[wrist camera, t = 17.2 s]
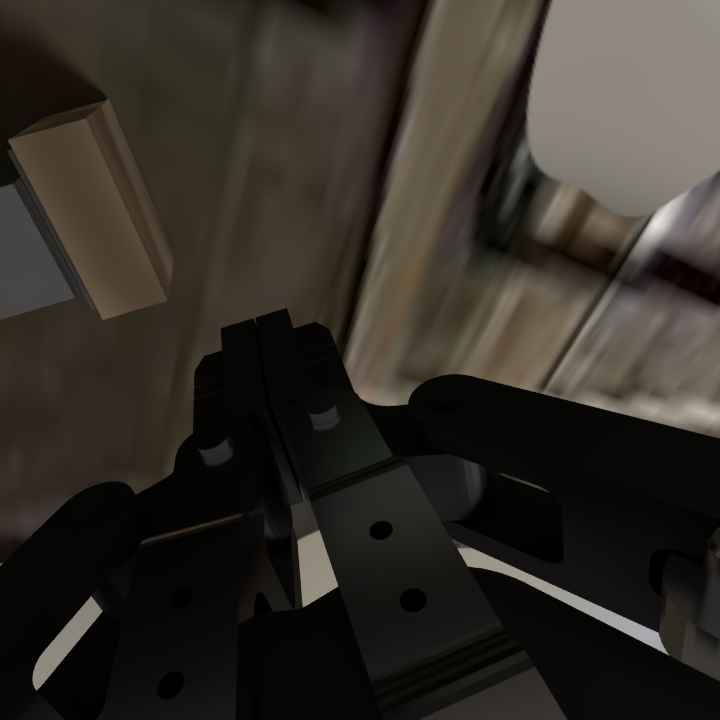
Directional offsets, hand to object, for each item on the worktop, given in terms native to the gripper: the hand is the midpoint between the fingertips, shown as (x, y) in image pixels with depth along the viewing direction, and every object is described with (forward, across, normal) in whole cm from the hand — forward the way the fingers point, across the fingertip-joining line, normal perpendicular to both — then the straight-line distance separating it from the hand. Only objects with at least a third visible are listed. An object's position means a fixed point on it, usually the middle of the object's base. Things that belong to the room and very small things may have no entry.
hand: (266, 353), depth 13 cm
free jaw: (+20, +6, 0) cm, 21 cm away
